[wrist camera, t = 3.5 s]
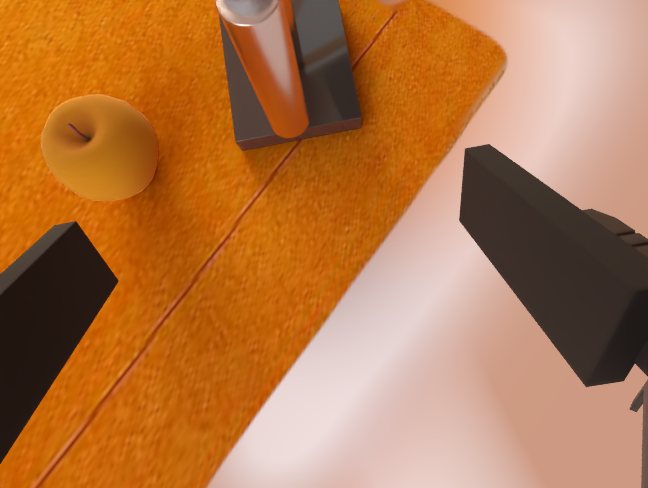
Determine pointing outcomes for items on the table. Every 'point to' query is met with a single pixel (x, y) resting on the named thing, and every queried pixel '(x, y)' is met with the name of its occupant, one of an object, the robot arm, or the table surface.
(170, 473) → the table surface
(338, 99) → the tap base
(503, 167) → the robot arm
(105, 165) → the apple
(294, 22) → the spout
